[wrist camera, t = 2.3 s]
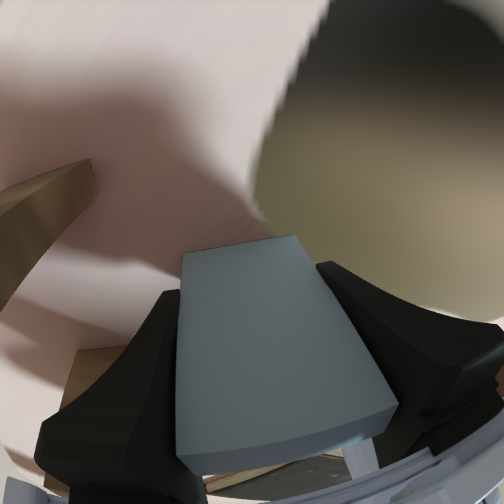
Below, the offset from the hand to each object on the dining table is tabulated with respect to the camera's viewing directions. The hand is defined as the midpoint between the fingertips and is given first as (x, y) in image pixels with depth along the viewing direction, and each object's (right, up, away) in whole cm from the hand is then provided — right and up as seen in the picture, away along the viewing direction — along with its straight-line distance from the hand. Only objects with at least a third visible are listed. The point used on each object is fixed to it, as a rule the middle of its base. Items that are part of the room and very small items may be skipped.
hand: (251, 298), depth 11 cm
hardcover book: (+7, -28, +21) cm, 36 cm away
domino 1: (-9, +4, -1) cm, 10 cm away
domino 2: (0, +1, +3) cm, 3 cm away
